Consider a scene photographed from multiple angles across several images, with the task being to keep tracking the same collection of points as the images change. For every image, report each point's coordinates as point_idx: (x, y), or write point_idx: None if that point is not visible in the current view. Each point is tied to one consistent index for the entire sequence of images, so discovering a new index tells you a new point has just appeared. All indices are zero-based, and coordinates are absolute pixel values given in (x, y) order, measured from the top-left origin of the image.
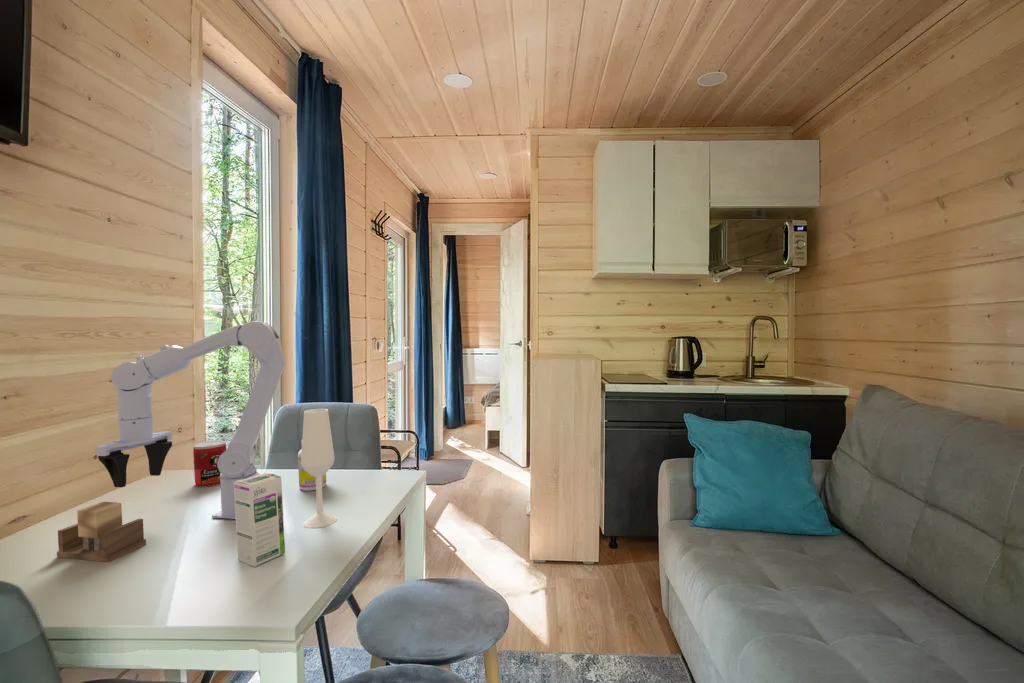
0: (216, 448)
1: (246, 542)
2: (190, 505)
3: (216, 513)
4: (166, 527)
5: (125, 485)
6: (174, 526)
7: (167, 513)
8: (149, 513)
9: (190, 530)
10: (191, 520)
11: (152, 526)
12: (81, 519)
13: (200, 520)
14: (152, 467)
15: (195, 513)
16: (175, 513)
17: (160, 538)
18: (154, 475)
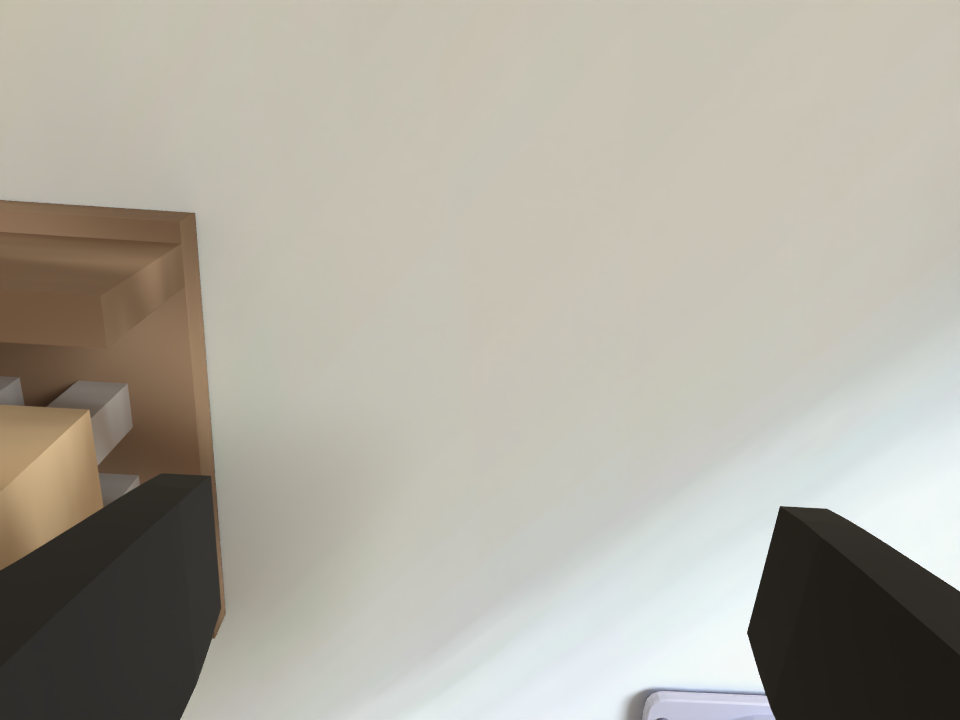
0: None
1: None
2: (954, 337)
3: (689, 707)
4: (482, 522)
5: (215, 620)
6: (503, 561)
7: (768, 289)
8: (783, 102)
9: (451, 699)
10: (611, 590)
11: (491, 406)
12: None
13: (612, 645)
14: (838, 648)
15: (749, 519)
16: (762, 361)
17: (317, 624)
18: (764, 576)
